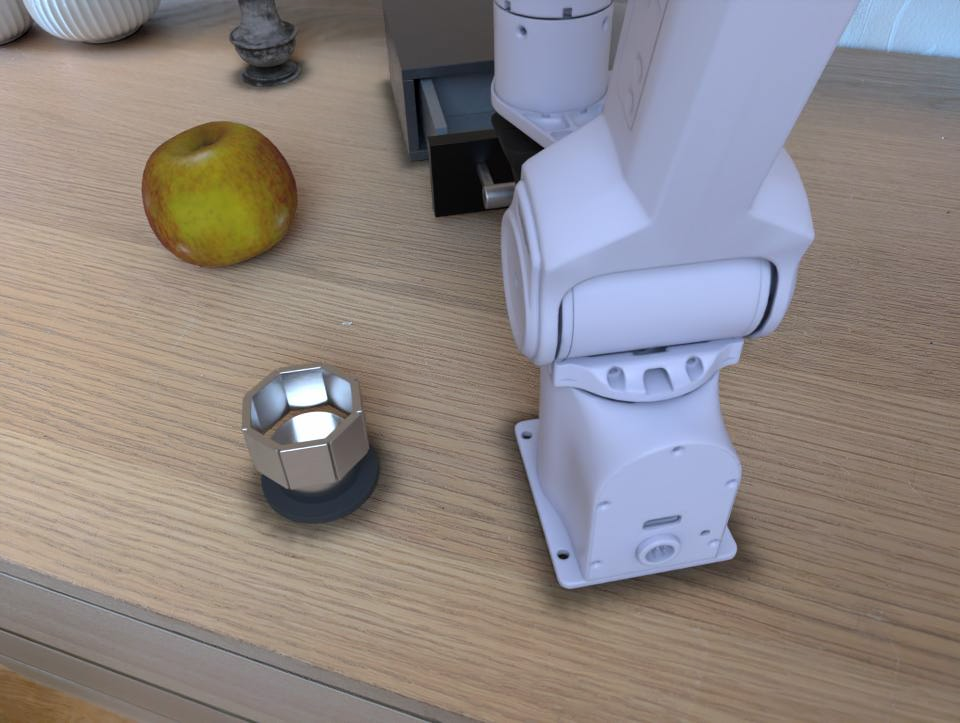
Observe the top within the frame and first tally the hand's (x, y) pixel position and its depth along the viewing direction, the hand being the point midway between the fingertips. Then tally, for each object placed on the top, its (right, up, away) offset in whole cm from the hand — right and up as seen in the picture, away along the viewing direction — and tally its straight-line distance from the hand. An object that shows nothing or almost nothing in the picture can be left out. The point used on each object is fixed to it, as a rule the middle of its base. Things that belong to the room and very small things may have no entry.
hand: (545, 235), depth 48 cm
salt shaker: (-22, +18, +25) cm, 38 cm away
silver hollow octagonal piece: (-12, -13, -9) cm, 19 cm away
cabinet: (-4, +13, +19) cm, 23 cm away
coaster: (-12, -13, -8) cm, 19 cm away
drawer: (-2, +6, +10) cm, 11 cm away
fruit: (-20, 0, +6) cm, 21 cm away
